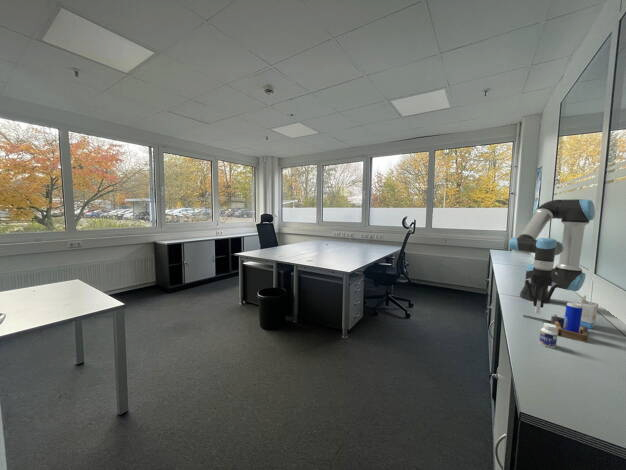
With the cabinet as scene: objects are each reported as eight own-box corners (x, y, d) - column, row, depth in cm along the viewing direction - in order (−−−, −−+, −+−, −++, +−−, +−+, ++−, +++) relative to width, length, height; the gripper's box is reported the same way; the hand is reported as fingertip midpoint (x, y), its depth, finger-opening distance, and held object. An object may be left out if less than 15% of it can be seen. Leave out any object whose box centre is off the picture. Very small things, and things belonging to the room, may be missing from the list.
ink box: (591, 329, 125) (596, 300, 124) (577, 325, 129) (581, 297, 128) (595, 325, 130) (599, 297, 128) (581, 321, 134) (585, 294, 132)
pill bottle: (536, 342, 110) (538, 323, 109) (543, 340, 112) (545, 321, 111) (551, 349, 105) (554, 328, 105) (558, 347, 108) (561, 326, 107)
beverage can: (562, 331, 122) (567, 301, 121) (578, 335, 119) (582, 304, 117) (562, 334, 119) (566, 303, 117) (578, 339, 115) (583, 307, 113)
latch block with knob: (550, 323, 130) (551, 313, 130) (576, 329, 125) (578, 319, 124) (551, 324, 129) (552, 314, 128) (577, 330, 123) (579, 320, 122)
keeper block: (523, 316, 138) (523, 311, 138) (585, 330, 124) (585, 324, 124) (524, 327, 125) (525, 321, 125) (594, 344, 111) (595, 337, 110)
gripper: (526, 267, 131) (521, 311, 134) (561, 272, 123) (555, 318, 126) (526, 265, 137) (521, 307, 140) (559, 269, 129) (553, 313, 132)
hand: (537, 312), depth 133 cm, fingers closed
